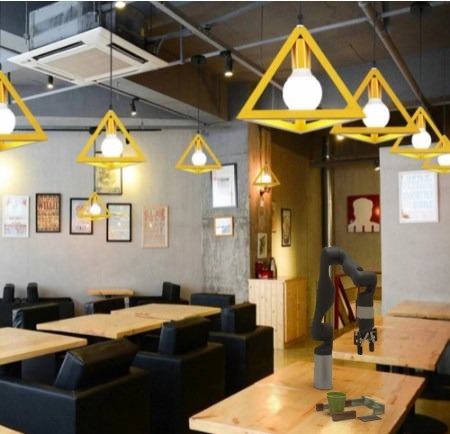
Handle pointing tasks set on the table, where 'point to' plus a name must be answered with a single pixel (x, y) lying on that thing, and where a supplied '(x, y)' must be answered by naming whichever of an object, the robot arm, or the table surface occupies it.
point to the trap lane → (364, 400)
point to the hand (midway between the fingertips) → (365, 353)
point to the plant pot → (336, 401)
